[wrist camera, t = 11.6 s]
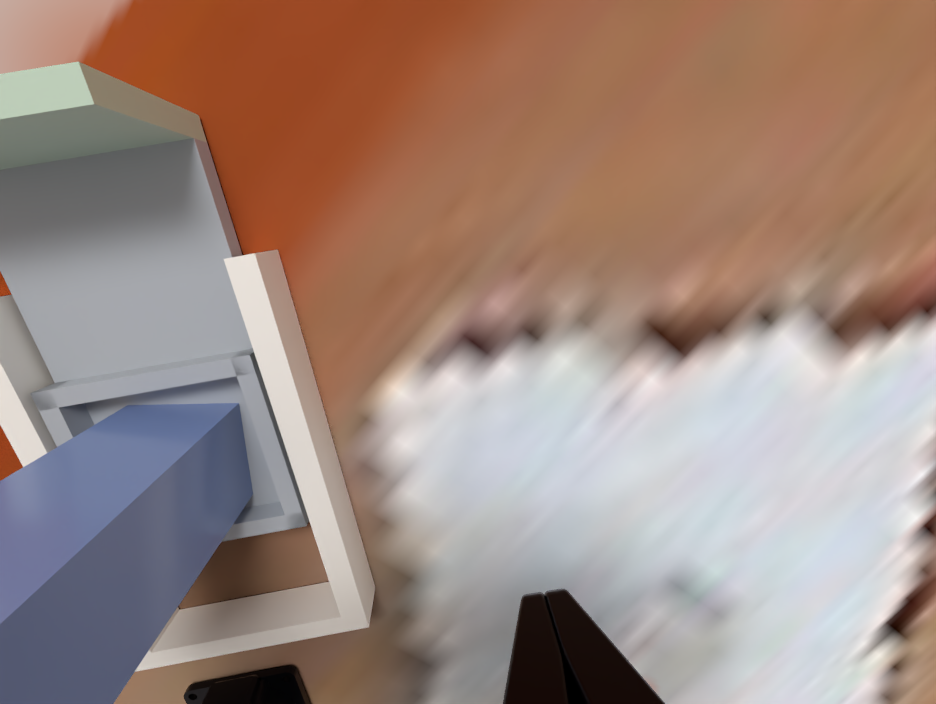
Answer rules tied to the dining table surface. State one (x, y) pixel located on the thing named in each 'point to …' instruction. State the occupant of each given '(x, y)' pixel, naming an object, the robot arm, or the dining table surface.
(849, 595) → the dining table surface
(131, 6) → the dining table surface
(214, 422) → the blue beige tall block
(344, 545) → the beige low rectangular frame
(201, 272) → the tray
